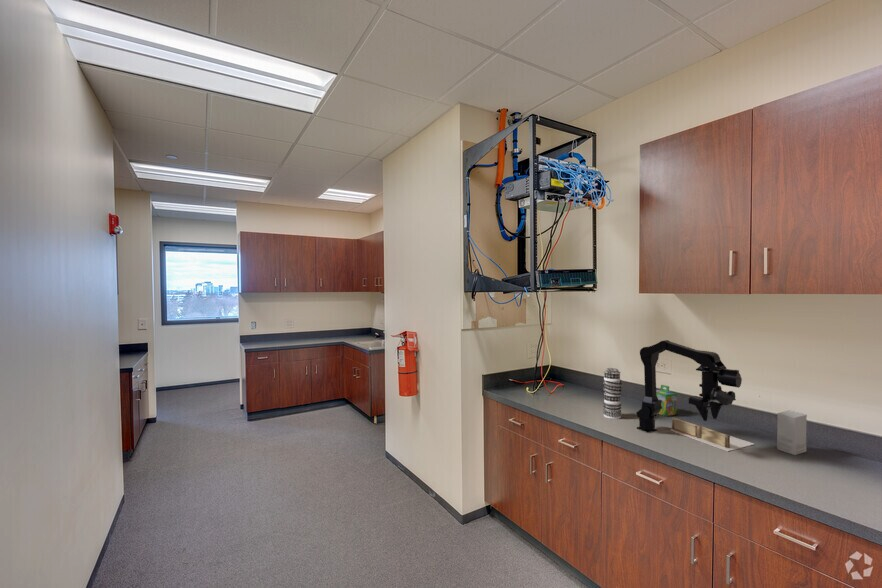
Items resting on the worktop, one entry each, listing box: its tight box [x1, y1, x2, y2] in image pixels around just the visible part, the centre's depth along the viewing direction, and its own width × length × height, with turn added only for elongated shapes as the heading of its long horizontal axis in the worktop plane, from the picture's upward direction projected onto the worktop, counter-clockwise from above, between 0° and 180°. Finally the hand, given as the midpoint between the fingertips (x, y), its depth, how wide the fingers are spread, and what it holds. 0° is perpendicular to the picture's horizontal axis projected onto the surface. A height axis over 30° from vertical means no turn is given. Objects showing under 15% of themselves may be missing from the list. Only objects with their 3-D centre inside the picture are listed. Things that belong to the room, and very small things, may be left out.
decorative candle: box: [602, 367, 623, 420], centre depth 205 cm, size 9×9×25 cm
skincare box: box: [776, 409, 808, 456], centre depth 160 cm, size 8×7×16 cm
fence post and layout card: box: [669, 417, 755, 452], centre depth 176 cm, size 18×27×6 cm, turn 22°
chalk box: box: [656, 384, 678, 417], centre depth 210 cm, size 9×9×15 cm
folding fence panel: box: [701, 426, 731, 448], centre depth 168 cm, size 11×2×5 cm, turn 22°
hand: (710, 419), depth 164 cm, fingers open, 6 cm apart
